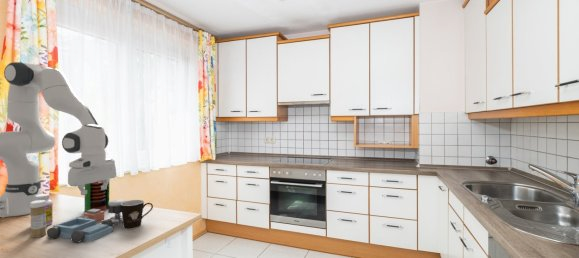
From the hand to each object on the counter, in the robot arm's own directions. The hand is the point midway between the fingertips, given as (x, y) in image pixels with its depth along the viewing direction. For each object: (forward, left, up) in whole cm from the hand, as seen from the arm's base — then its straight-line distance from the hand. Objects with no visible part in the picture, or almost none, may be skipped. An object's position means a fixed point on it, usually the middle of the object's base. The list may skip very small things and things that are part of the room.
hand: (94, 192), depth 123 cm
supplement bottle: (-16, -10, -13) cm, 23 cm away
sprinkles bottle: (-6, -18, -13) cm, 23 cm away
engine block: (0, 0, -13) cm, 13 cm away
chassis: (+8, -12, -13) cm, 19 cm away
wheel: (+11, +2, -8) cm, 13 cm away
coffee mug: (+22, +1, -13) cm, 25 cm away
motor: (-13, +12, -13) cm, 22 cm away
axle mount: (+11, +2, -13) cm, 17 cm away
